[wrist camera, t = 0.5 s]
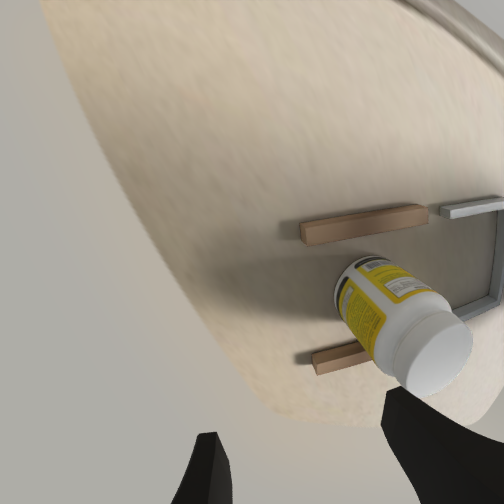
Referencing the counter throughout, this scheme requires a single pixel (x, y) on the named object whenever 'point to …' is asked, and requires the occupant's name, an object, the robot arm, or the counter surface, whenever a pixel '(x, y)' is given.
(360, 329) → the supplement bottle
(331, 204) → the counter surface
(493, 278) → the bay
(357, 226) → the rails
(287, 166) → the counter surface
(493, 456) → the robot arm
